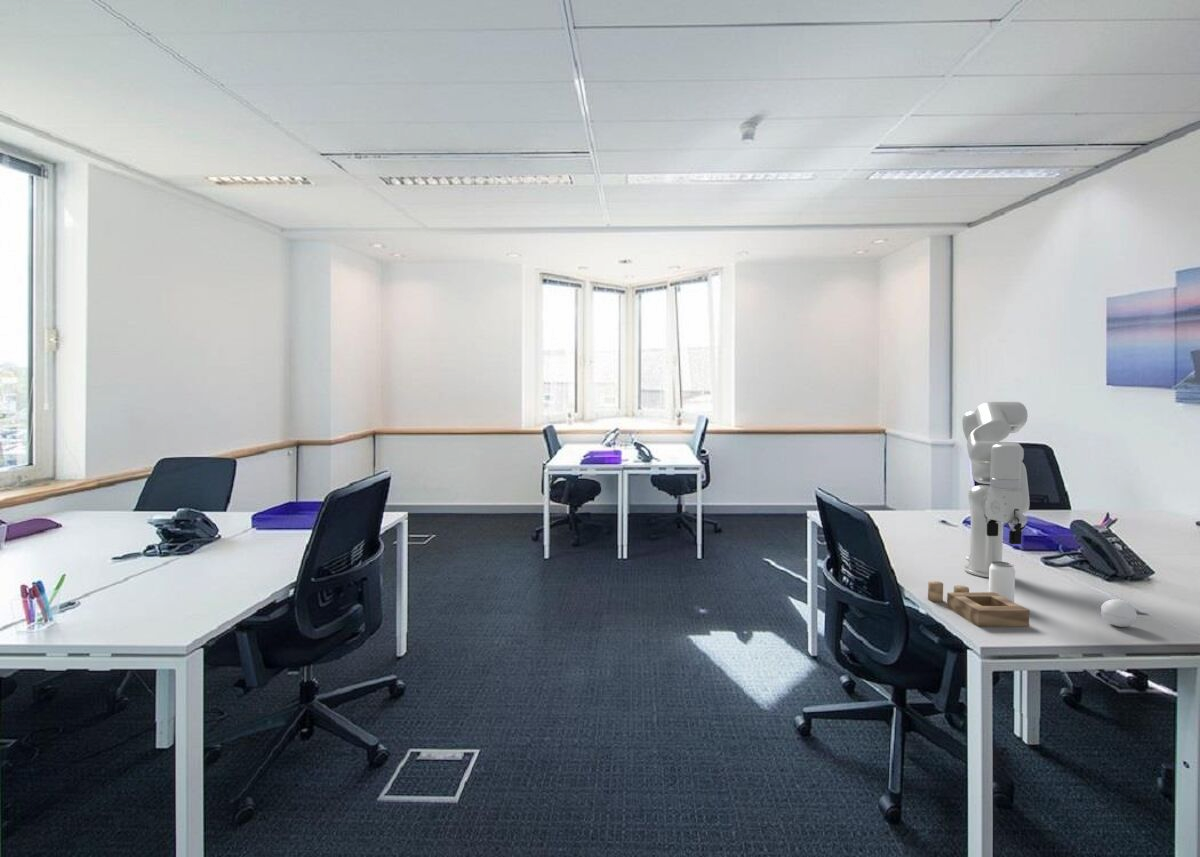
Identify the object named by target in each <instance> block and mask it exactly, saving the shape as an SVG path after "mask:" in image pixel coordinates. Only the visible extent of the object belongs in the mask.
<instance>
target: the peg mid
mask: <svg viewBox="0 0 1200 857" xmlns="http://www.w3.org/2000/svg"><path fill="white" fill-rule="evenodd" d="M927 582H928V583H927V584H928V586H927V600H928V601H930V602H933V603H942V602H944V599H943V598H944V583H943V582H941V581H937V580H929V581H927Z"/></svg>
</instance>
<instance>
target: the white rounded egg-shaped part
mask: <svg viewBox="0 0 1200 857" xmlns="http://www.w3.org/2000/svg"><path fill="white" fill-rule="evenodd" d="M1100 614H1101V616H1102V618H1103V619H1104V620H1105V621H1106V622H1107V623H1109V624H1111V625H1113V626H1114V627H1120V628H1124V627H1125V628H1126V627H1130V626H1132V625H1133V624H1134V623H1136V621H1137V618H1138V614H1137V611H1136V609H1135V607H1134V606H1133V605H1132V604H1130V602H1127V601H1125V600H1124V599H1118V598H1112V599H1108V600H1105V602H1103V604H1101V607H1100Z"/></svg>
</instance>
